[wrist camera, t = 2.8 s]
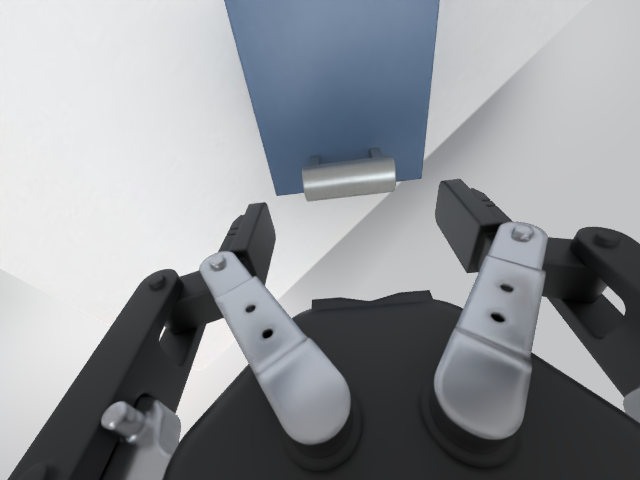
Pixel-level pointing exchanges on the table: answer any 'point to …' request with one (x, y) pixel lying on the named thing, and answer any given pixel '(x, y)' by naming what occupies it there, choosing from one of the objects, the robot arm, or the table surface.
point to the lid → (338, 90)
